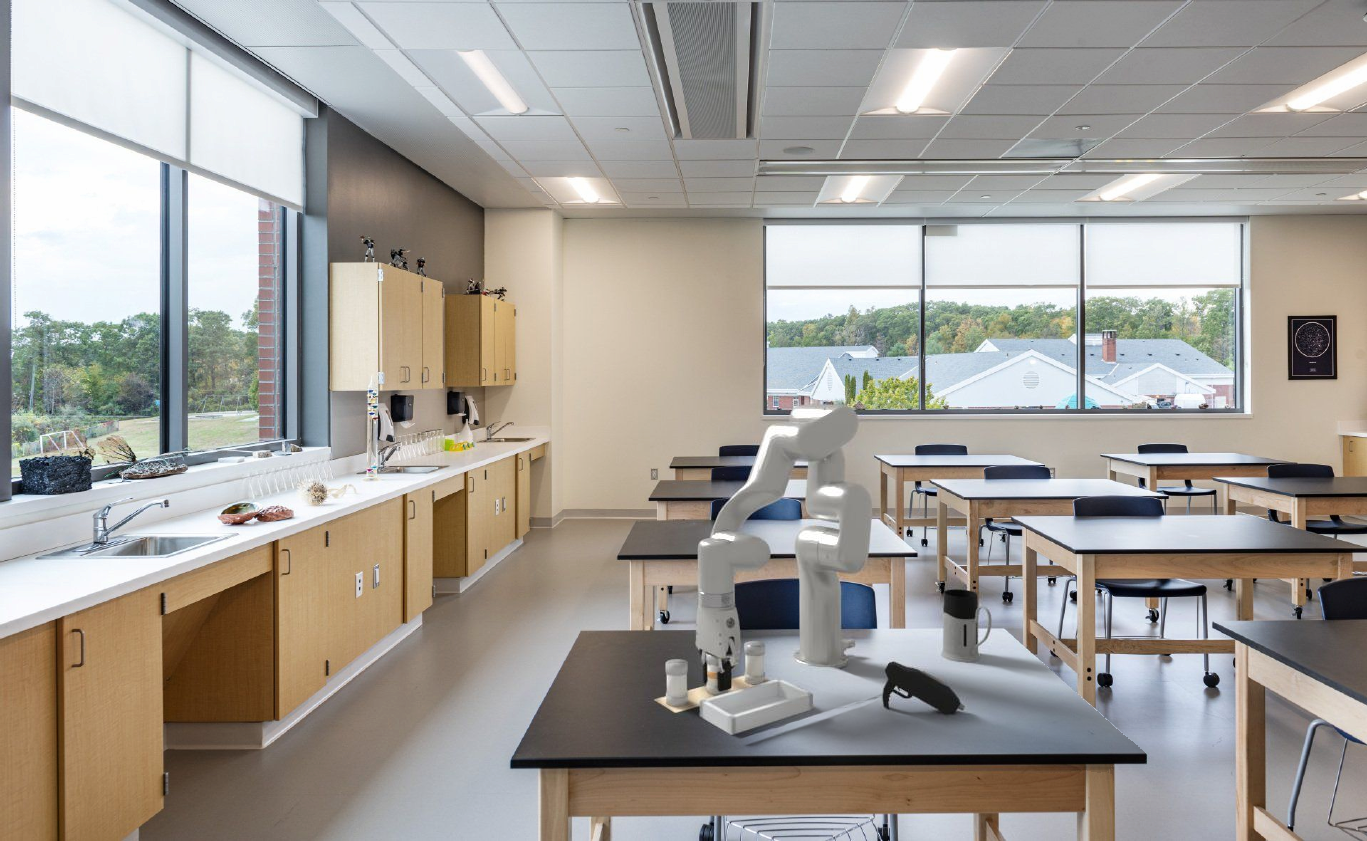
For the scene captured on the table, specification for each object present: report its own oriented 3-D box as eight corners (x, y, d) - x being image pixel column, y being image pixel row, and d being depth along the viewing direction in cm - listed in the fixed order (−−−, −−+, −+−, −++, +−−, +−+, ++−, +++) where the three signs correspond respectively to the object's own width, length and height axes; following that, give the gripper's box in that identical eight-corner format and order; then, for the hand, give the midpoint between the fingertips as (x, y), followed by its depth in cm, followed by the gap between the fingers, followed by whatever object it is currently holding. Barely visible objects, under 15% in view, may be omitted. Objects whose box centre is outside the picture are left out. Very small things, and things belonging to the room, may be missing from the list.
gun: (946, 743, 152) (971, 700, 151) (870, 700, 155) (894, 657, 153) (944, 737, 155) (968, 694, 154) (869, 695, 157) (893, 652, 156)
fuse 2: (756, 676, 171) (756, 639, 170) (769, 682, 167) (769, 645, 167) (740, 680, 168) (740, 643, 168) (753, 686, 165) (753, 649, 164)
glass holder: (962, 648, 191) (962, 587, 190) (1005, 667, 178) (1005, 601, 177) (933, 652, 188) (933, 590, 187) (974, 672, 174) (974, 605, 174)
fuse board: (754, 677, 173) (754, 672, 173) (777, 688, 166) (777, 683, 166) (653, 704, 158) (653, 699, 158) (675, 717, 152) (675, 712, 152)
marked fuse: (719, 685, 165) (719, 648, 165) (732, 692, 161) (731, 654, 161) (702, 690, 163) (702, 652, 162) (714, 697, 159) (714, 658, 159)
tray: (779, 697, 161) (779, 678, 161) (813, 714, 153) (812, 693, 153) (699, 721, 150) (699, 700, 150) (731, 740, 142) (731, 718, 141)
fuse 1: (680, 696, 160) (679, 657, 159) (692, 703, 156) (691, 664, 156) (661, 701, 157) (661, 662, 157) (673, 708, 153) (673, 668, 153)
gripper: (756, 604, 156) (757, 694, 157) (707, 587, 170) (708, 670, 171) (726, 611, 152) (727, 703, 153) (678, 593, 166) (679, 677, 167)
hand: (717, 685), depth 162 cm, fingers closed on marked fuse, 4 cm apart
